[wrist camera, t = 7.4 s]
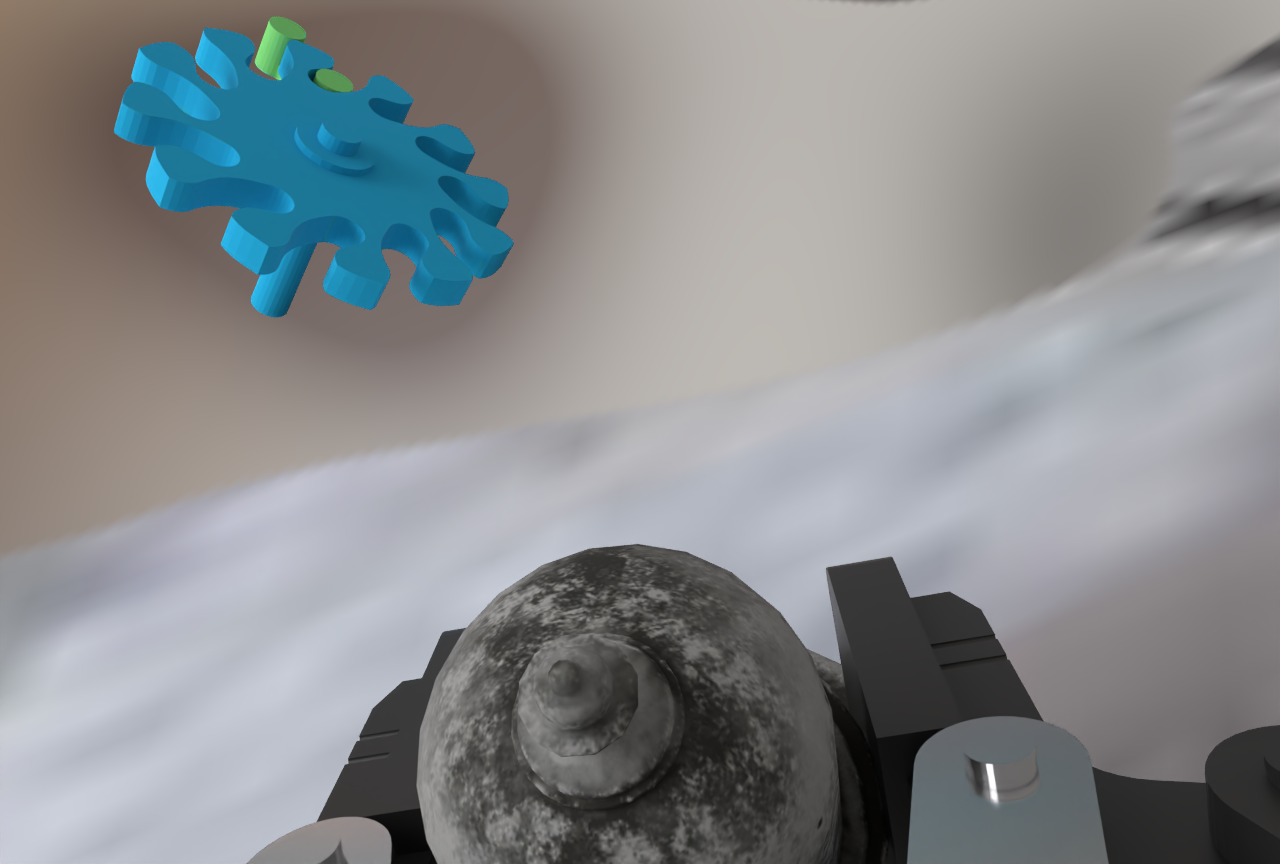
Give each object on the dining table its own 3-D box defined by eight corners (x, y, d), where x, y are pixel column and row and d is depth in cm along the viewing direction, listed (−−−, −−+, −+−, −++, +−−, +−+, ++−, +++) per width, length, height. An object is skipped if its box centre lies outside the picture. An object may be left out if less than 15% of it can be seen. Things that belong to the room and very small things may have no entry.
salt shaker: (519, 1127, 16) (-144, 1267, 5) (573, 696, 18) (200, 229, 8) (970, 1185, 15) (1248, 1515, 4) (958, 719, 17) (1110, 209, 7)
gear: (568, 302, 29) (137, 205, 23) (469, 460, 32) (71, 409, 26) (472, 60, 35) (120, -61, 30) (399, 211, 39) (70, 128, 33)
